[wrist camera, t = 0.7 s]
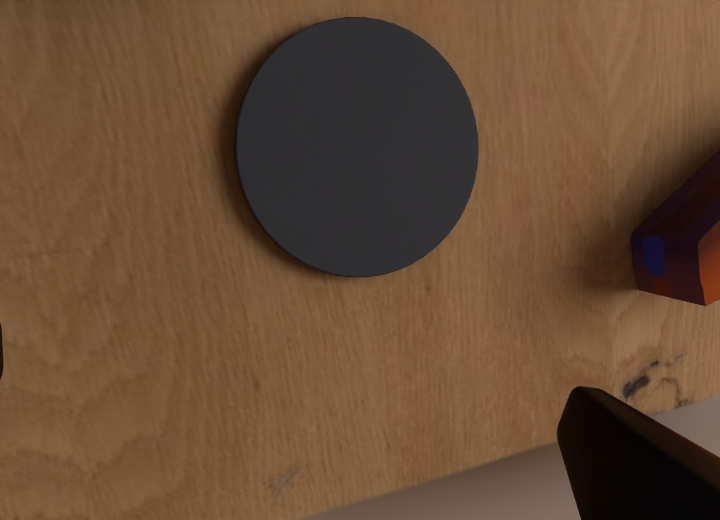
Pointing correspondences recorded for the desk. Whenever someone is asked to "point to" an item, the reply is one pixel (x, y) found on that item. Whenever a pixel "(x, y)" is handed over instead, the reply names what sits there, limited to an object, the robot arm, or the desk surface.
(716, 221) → the toy rocket
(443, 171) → the felt pad
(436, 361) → the desk surface
